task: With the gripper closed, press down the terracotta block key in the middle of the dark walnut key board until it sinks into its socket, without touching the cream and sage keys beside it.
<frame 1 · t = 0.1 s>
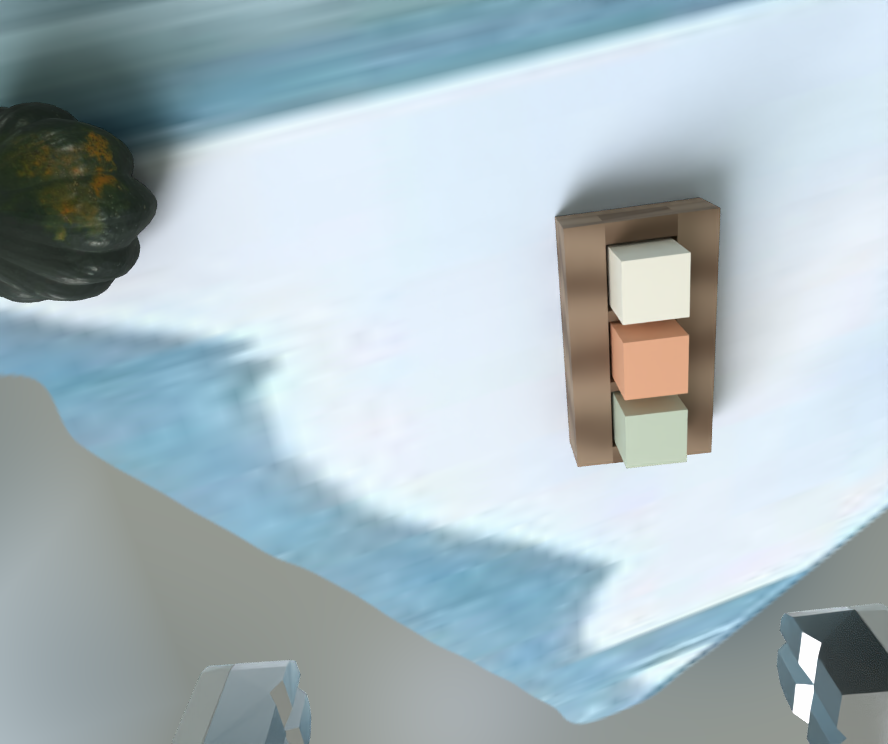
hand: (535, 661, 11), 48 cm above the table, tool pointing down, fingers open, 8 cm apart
squash: (82, 195, 55), on the table
terracotta key: (647, 355, 54), point 6 cm above the table, slide at 0.0 cm
key board: (629, 329, 60), on the table
cream key: (646, 279, 52), point 6 cm above the table, slide at 0.0 cm
sage key: (648, 424, 57), point 6 cm above the table, slide at 0.0 cm
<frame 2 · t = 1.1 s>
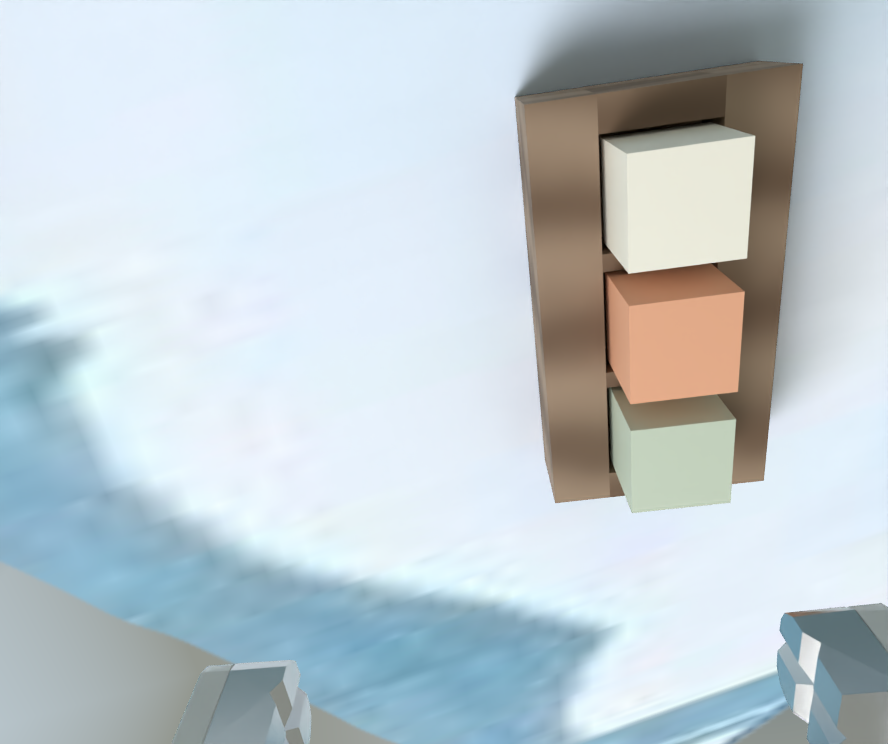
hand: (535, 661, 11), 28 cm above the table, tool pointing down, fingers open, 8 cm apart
terracotta key: (668, 328, 32), point 6 cm above the table, slide at 0.0 cm
key board: (637, 288, 38), on the table
cream key: (670, 195, 29), point 6 cm above the table, slide at 0.0 cm
sage key: (667, 440, 35), point 6 cm above the table, slide at 0.0 cm
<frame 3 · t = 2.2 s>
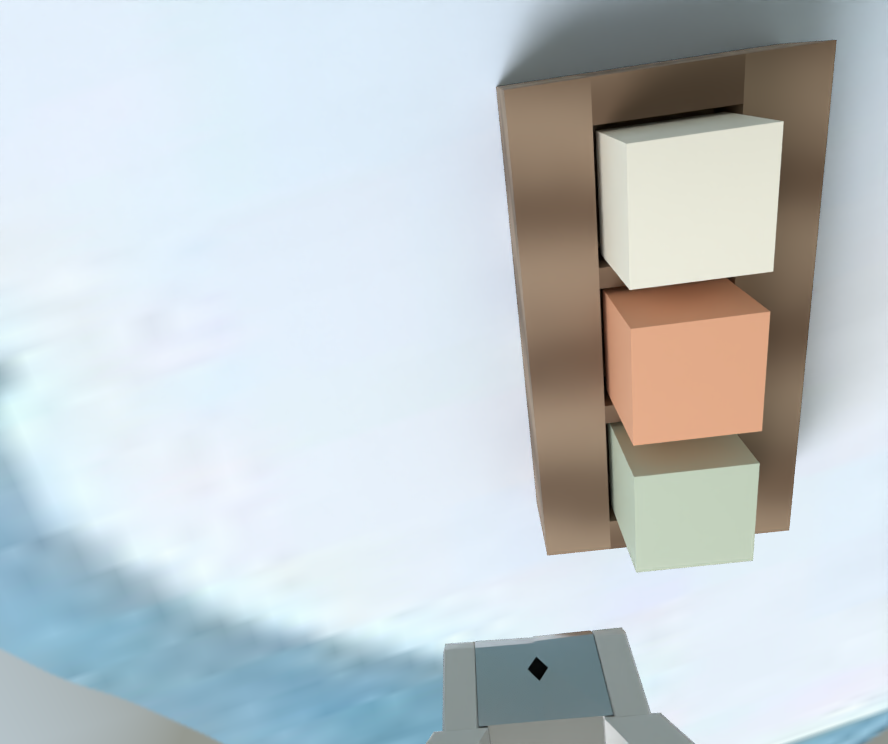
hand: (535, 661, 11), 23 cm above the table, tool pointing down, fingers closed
terracotta key: (677, 355, 27), point 6 cm above the table, slide at 0.0 cm
key board: (640, 307, 33), on the table
cream key: (679, 196, 25), point 6 cm above the table, slide at 0.0 cm
sage key: (676, 485, 30), point 6 cm above the table, slide at 0.0 cm
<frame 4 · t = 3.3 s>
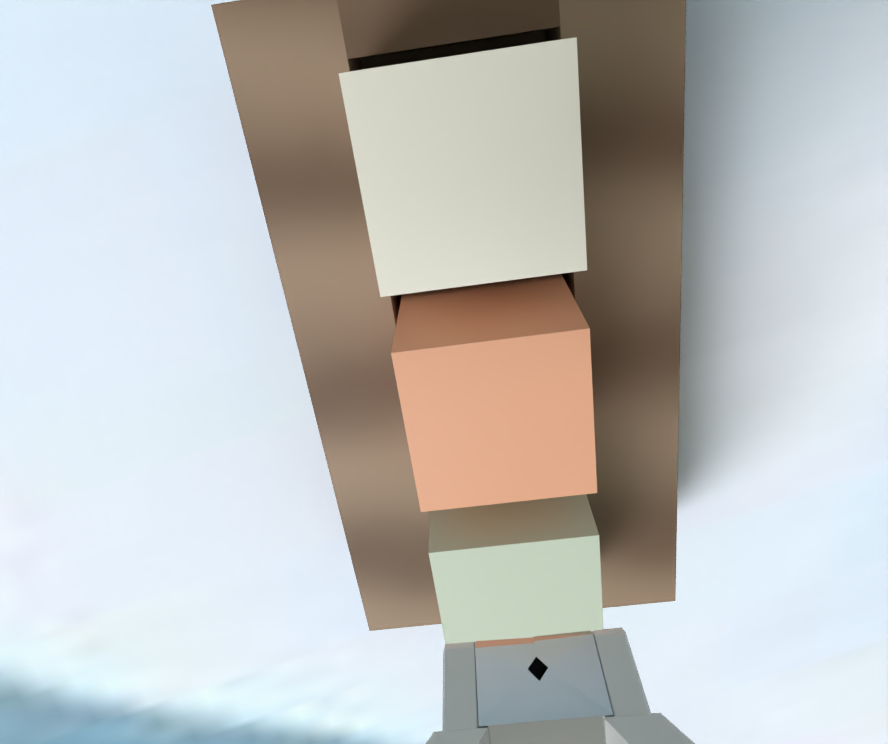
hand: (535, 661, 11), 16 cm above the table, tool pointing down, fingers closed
terracotta key: (493, 384, 20), point 6 cm above the table, slide at 0.0 cm
key board: (483, 314, 25), on the table
cream key: (467, 161, 17), point 6 cm above the table, slide at 0.0 cm
sage key: (513, 552, 23), point 6 cm above the table, slide at 0.0 cm
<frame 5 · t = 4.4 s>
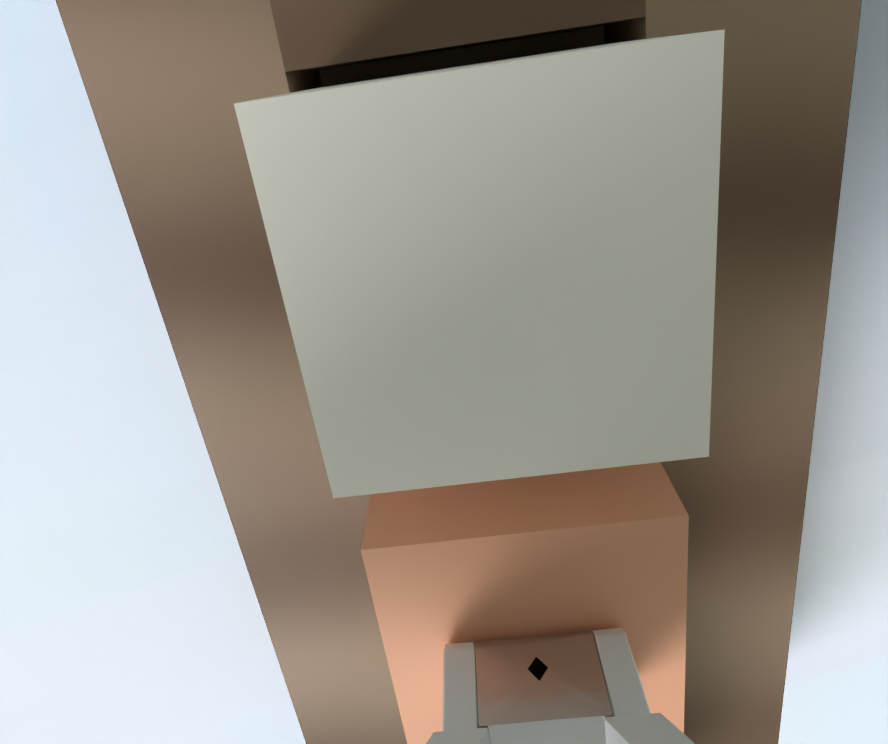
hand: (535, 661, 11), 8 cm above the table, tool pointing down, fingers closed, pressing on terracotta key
terracotta key: (520, 551, 13), point 5 cm above the table, slide at 0.7 cm, touching gripper
key board: (501, 423, 18), on the table
cream key: (487, 246, 10), point 6 cm above the table, slide at 0.0 cm
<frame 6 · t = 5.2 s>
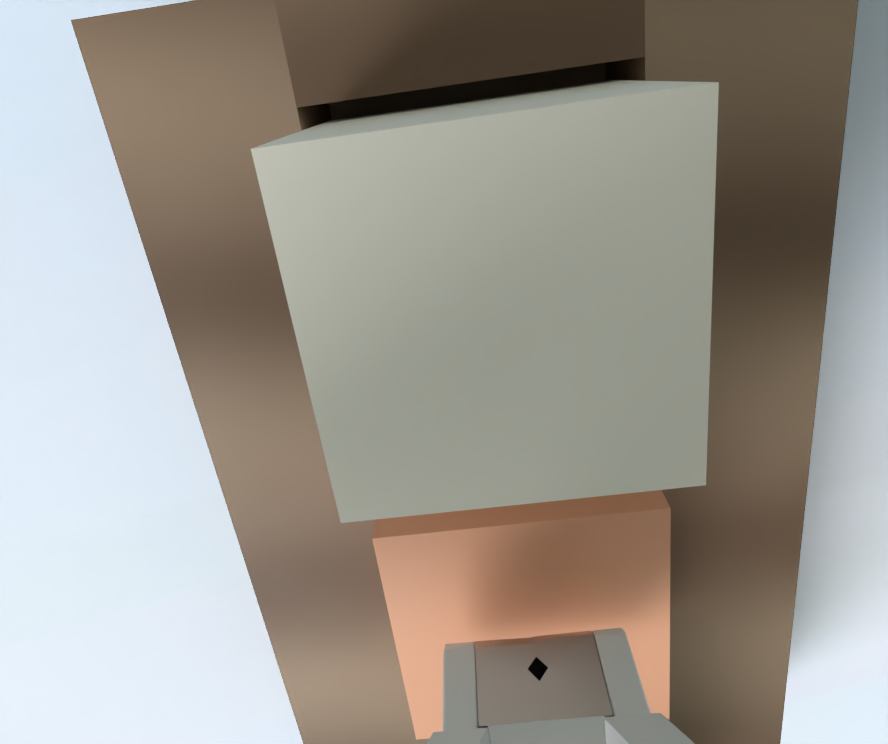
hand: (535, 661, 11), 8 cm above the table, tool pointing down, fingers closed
terracotta key: (518, 546, 14), point 4 cm above the table, slide at 1.6 cm
key board: (504, 442, 18), on the table
cream key: (491, 277, 10), point 6 cm above the table, slide at 0.0 cm
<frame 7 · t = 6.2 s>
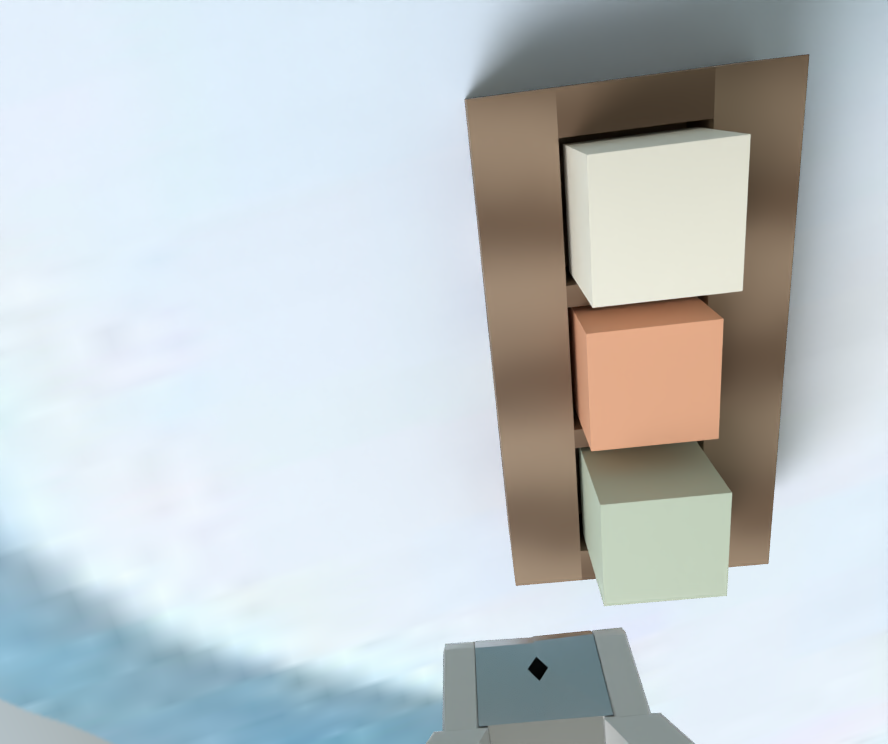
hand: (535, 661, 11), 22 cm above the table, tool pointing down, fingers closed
terracotta key: (637, 363, 28), point 4 cm above the table, slide at 1.6 cm
key board: (614, 328, 32), on the table
cream key: (647, 212, 24), point 6 cm above the table, slide at 0.0 cm
sage key: (648, 515, 29), point 6 cm above the table, slide at 0.0 cm
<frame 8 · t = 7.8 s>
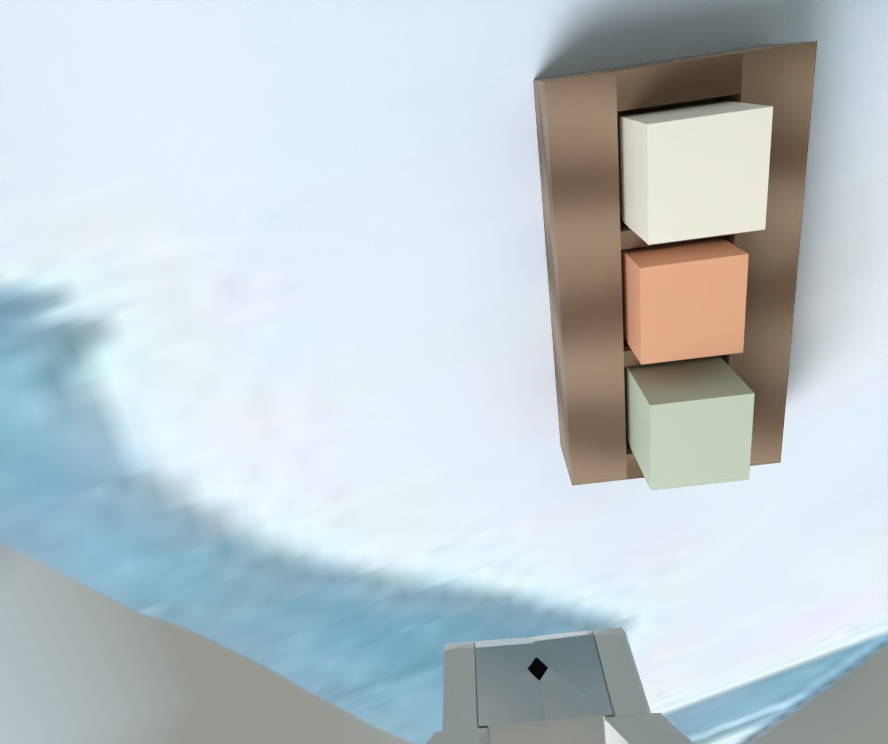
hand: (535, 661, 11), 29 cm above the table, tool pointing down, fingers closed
terracotta key: (676, 295, 34), point 4 cm above the table, slide at 1.6 cm
key board: (652, 271, 38), on the table
cream key: (688, 170, 30), point 6 cm above the table, slide at 0.0 cm
sage key: (684, 419, 35), point 6 cm above the table, slide at 0.0 cm
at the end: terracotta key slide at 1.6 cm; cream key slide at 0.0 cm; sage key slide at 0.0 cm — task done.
